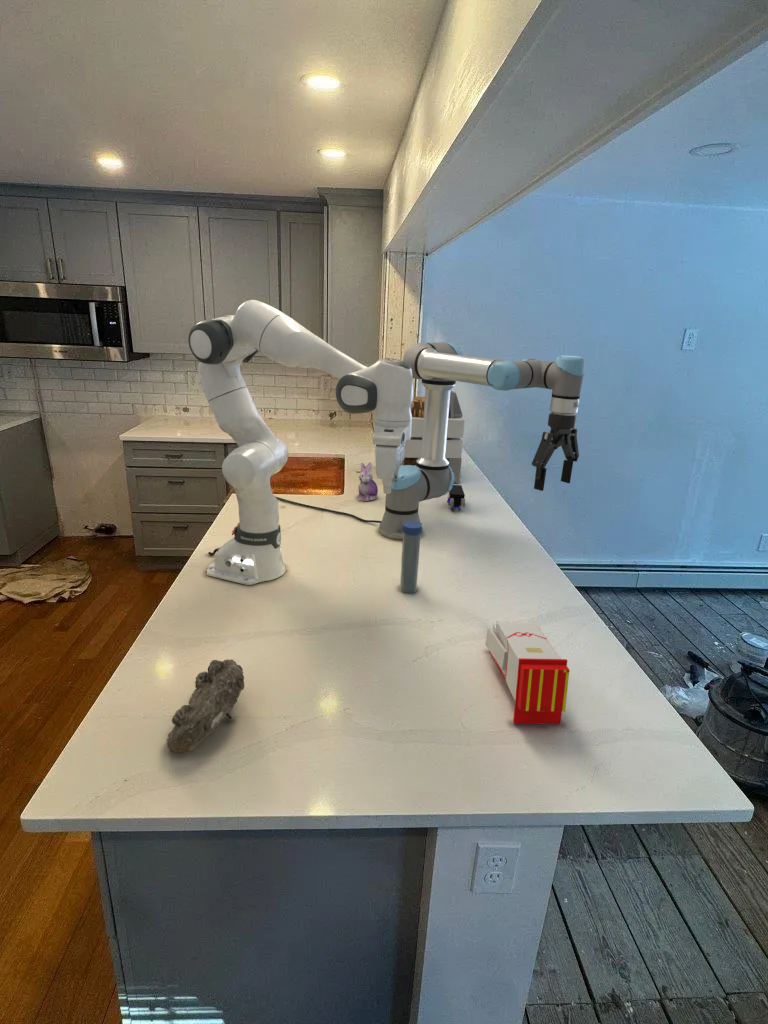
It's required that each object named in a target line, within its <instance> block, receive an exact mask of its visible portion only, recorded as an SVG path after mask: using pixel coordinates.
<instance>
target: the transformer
mask: <svg viewBox="0 0 768 1024" xmlns="http://www.w3.org/2000/svg"><path fill="white" fill-rule="evenodd" d="M424 404H425V396H415V395H413V402H412V404H411V414H412V431H411V439H410V440H407V441H406V445H405V455H404V460H403V461H402V463H401V465H404V466H405V465H413V466H416V461H417V459H418V458H420V457H421V449H422V434H423V419H424ZM464 429H465V419H464V418H463V411H462V408H461V405H460V402H459V398H458V395H457V392H455V391H453V390H451V392H450V404H449V416H448V428H447V441H446V453H445V458H446V459H447V461H448V462H449V466H450V467H451V469H452V473H454V484H455V483H456V484H459V483H461V472H462V461H463V460H462V453H463V442H464V441H463V440H462V439H463V438H464V431H465V430H464ZM401 465H400V466H401Z"/></svg>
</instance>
